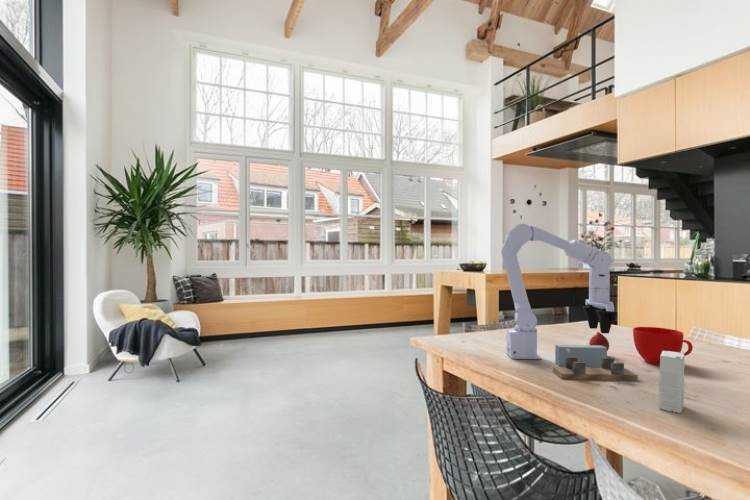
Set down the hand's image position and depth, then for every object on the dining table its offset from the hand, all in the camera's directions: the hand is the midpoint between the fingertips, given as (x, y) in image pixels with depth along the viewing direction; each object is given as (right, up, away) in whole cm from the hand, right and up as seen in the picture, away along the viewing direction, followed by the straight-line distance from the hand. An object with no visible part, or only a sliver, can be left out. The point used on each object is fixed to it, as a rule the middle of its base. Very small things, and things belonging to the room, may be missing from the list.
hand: (598, 330), depth 127 cm
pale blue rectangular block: (-8, -10, -4) cm, 14 cm away
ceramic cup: (+18, -10, -4) cm, 21 cm away
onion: (+4, -10, +7) cm, 12 cm away
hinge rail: (-10, -10, -15) cm, 21 cm away
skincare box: (-5, -10, -38) cm, 39 cm away
